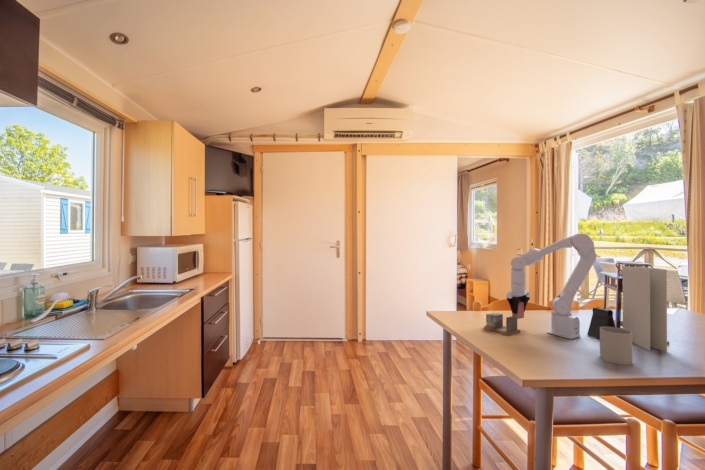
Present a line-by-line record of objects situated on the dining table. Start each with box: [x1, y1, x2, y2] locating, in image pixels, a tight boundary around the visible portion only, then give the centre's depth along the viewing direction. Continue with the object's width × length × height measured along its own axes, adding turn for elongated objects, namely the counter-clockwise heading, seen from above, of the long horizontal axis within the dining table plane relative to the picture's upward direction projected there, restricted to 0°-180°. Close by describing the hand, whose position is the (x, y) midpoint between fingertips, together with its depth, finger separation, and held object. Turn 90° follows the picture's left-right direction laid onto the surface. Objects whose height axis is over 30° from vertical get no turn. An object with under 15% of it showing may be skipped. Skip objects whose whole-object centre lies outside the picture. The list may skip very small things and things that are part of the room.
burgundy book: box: [511, 302, 525, 320], centre depth 137 cm, size 2×5×7 cm, turn 119°
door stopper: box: [586, 306, 617, 340], centre depth 125 cm, size 9×6×12 cm, turn 104°
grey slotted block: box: [483, 312, 521, 337], centre depth 133 cm, size 12×8×7 cm, turn 29°
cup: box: [599, 326, 633, 366], centre depth 102 cm, size 8×8×10 cm
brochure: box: [622, 265, 668, 353], centre depth 116 cm, size 14×6×30 cm, turn 168°
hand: (518, 312), depth 136 cm, fingers closed on burgundy book, 5 cm apart
